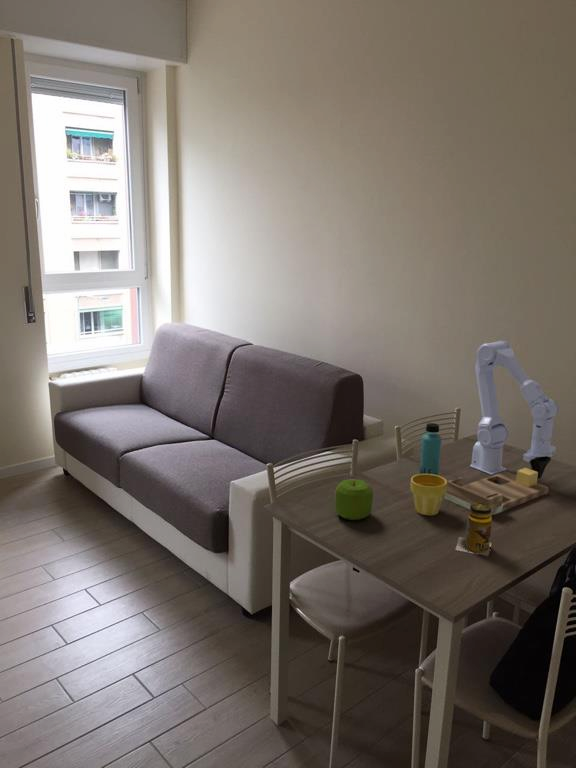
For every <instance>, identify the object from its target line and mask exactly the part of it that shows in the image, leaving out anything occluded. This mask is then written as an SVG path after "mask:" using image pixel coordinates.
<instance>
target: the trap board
mask: <svg viewBox="0 0 576 768" xmlns="http://www.w3.org/2000/svg"><path fill="white" fill-rule="evenodd" d="M516 477H517V474H514V473H512V472H509V471H507V470H505V471H502V472H499V473H496V474H493V475H490V476H486V477H484V478H481V479H479V480H476V481H472V482H469V483H468V484H464V485H463V477H462V476H458V477H455V478H451V479H449V480H446V481H447V490H446V494H445V495H443V499H445V500H448V501H450V502H452V503H454V504H457V505H458V506H461V507H463V508H465V509H467V510H469V511H470V506H471V504H473V503H484V504H487V505H489V506H490V507H491V517H493V516H494V515H497V514H499V513H503V512H505V511H507V510H509V509H512V508H514V507H516V506H519V505H522V504H524V503H527V502H529V501H532V500H535V499H537V498H539V497H542V496H545V495H547V494H549V486H547V485H544V484H542V483H538V482H537V484H535V485H532V486H530V487H527V486H524V485H522V484H519V483H516Z"/></svg>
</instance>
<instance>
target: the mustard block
mask: <svg viewBox="0 0 576 768" xmlns="http://www.w3.org/2000/svg"><path fill="white" fill-rule="evenodd" d="M516 475H517V477H516V483H519V484H522V485H524V486H527V487H530V486H532V485H535V484H537V483H538V479H537V477H538V472H536V471H534V470H532V468H531V469H530V468H528V467H523V468H521V469H518V470H517V471H516Z"/></svg>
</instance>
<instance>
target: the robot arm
mask: <svg viewBox="0 0 576 768" xmlns="http://www.w3.org/2000/svg"><path fill="white" fill-rule="evenodd" d="M475 352H476V362H475V366H474V367H475V368H474V369H475V376H476V383H477V389H478V395H479V402H480V403H479V404H480V409H481V410H480V411H481V416H482V418H481V420H480V421H479V423H478V425H477V426H478V431H477V440H478V441H476V442H475V444H474V445H473V447H472V454H471V464H470V465H469V466H470V467H471V468H473V469H475V470H478V471H481V472H484V473H485V474H488V475H490V476H493V475H496V474H498V473H501V472H504V471H507V468H506V467H503V466H502V462H503V453H504V445H505V441H507V440H508V438H509V435H510V433H509V429H508V427H507V426H506V423H505V419H504V418H503V417H502V416H501V415H500V411H499V403H498V399H497V391H496V390H497V389H496V384H495V378H494V376H495V375H494V369H496V367H497V366H499V367H502V368H503V367H504V368H505V370H506V371H507V372H508V373H509V374H510V375H511V377H512V378H513V379H514V380H515V381H516V383H517V384H518V385H519V392H520V394H521V396H522V397H523V398H524V399H525V401H526V402H527V404H528V405H529V406H530V408H531V409H530V414H531V416H532V418H533V424H532V434H531V435H532V436H531V442H530V443H531V444H530V449H528V450H527V452H526V453H524V454H523V459H522V461H525V462H528V463H529V464H530V467H531V470H534V471H536V472H538V477H537V480H539V479H541V478H542V477H543V474H544V472H545V469H546V468H547V466H548V464H549V463H550V462H551V460H552V457H553V454H555V453H556V449H557V447H556V446H554V445H551V443H552V438H553V437H552V436H553V428H554V419H555V417H556V416H558V412H559V407H558V404H557V402H556V401H555V400H554V399H552V398H549V397H548V396H547V395H546V394H545V392H544V391H543V390H542V388H541V385H540V383H539V382H536V381H535V380H532V379H530V377H528V375H527V374H526V372H525V371H524V369H523V367H522V366H521V364H520V362H519V361H518V359H517V358H516V356H515V353H514V352H515V351H514V350H513V348H512V347H511V346H510V344H509V343H508V342H507V341H505V340H498V341H495V342H489V343H487V342H486V343H482V344H481V345H480V346H479V348H478V349H477V350H476V351H475Z"/></svg>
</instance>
